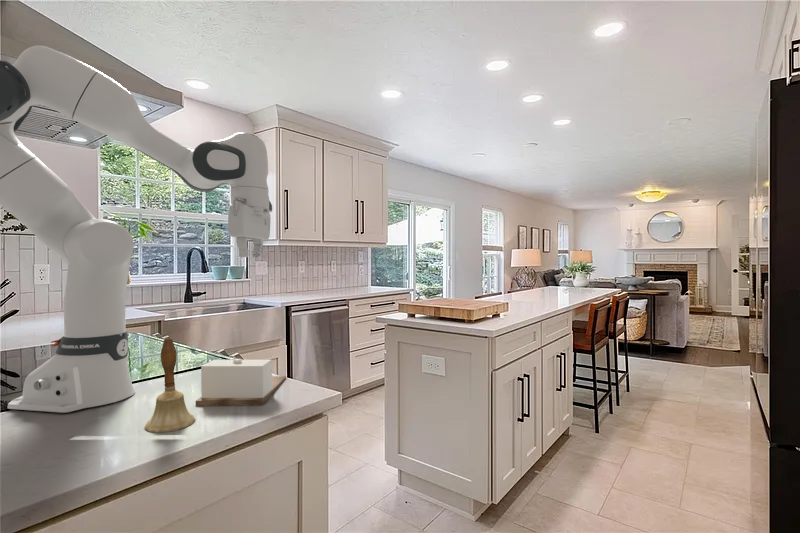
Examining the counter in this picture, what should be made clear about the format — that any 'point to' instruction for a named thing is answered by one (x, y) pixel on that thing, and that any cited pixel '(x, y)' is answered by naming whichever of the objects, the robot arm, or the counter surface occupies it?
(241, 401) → the board
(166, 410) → the hand bell
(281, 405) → the counter surface
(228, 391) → the lid
